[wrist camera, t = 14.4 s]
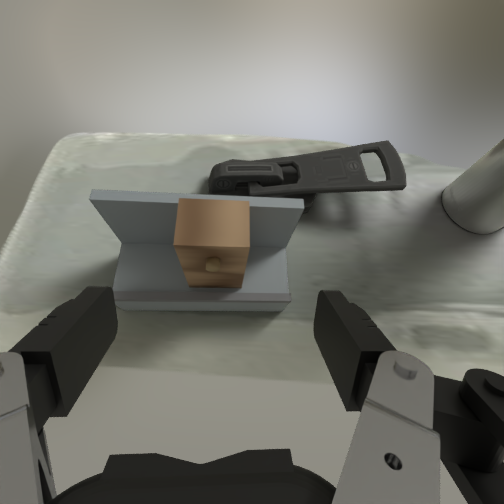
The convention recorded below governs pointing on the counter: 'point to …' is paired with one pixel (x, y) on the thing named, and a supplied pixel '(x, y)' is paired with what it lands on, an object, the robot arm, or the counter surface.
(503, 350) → the counter surface
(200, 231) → the cabinet
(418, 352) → the counter surface
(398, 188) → the zipper pull
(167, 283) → the board
